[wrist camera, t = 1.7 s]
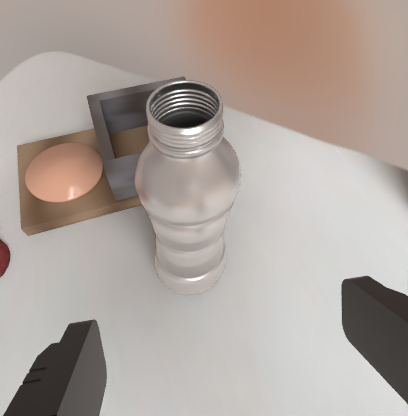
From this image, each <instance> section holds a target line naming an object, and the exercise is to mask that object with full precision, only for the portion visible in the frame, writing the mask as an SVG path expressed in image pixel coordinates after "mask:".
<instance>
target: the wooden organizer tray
mask: <svg viewBox="0 0 408 416" xmlns="http://www.w3.org/2000/svg"><path fill="white" fill-rule="evenodd" d="M180 80H186V79H185V77H180V78H175V79H170V80H165V81H160V82H155V83H150V84H145V85H140V86H135V87H130V88H125V89H120V90H115V91H110V92H104V93H99V94H94V95H89V96H87V99H88V104H89V108H90V112H91V116H92V120H93V125H94V129H91V130H86V131H82V132H77V133H73V134H68V135H64V136H59V137H55V138H50V139H46V140H41V141H37V142H32V143H27V144H23V145H18V146H17V153H18V173H19V193H20V212H21V229H22V230H23V231H24V232H25V233H26V234H27V235H28V236H29V235H33V234H36V233H40V232H44V231H47V230H51V229H55V228H58V227H62V226H65V225H69V224H73V223H76V222H80V221H84V220H87V219H91V218H95V217H98V216H102V215H106V214H109V213H113V212H117V211H120V210H124V209H128V208H131V207H135V206H139V205H142V203H141V201H140V198H139V196H138V193H137V190H136V186H135V173H136V168H137V163H138V160H139V157H140V155H141V153H142V152H143V150H144V149H145V147H146V146H147V144H148V143H149V142H150V140H149V135H148V130H147V128H148V119H147V114H146V103H147V100H148V98H149V96H150V95H151V94H152V92H154V91H155V90H156V89H157V88H159V87H160V86H162V85H165V84H167V83H170V82H174V81H180ZM64 143H80V144H84V145H87V146H89V147H91V148H93V149H94V150H96V151H97V152H98V154H99V155H100V157H101V159H102V163H103V174H102V177H101V179H100V181H99V183H98V184H97V185H96V186H95V188H94V189H93V190H91V191H90V192H89V193H87V194H86V195H84V196H83V197H81V198H78V199H76V200H73V201H70V202H65V203H49V202H45V201H42V200H40V199H38V198H36V197H35V196H34V195H33V194H32V193H31V192H30V191H29V189H28V188H27V186H26V182H25V174H26V170H27V168H28V166H29V164H30V163H31V161H32V160H33V159H34V158H35V157H36V156H37V155H39V154H40V153H41V152H43V151H44V150H46V149H48V148H50V147H53V146H56V145H59V144H64Z"/></svg>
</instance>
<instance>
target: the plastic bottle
mask: <svg viewBox="0 0 408 416" xmlns="http://www.w3.org/2000/svg"><path fill="white" fill-rule="evenodd" d="M146 114H147V119H148V128H147V130H148V135H149V140H150V142H149V143H148V144H147V146H146V147H145V149H144V150H143V152H142V153H141V155H140V157H139V160H138V163H137V168H136V173H135V186H136V190H137V193H138V196H139V198H140V201H141V203H142V205H143V207H144V209H145V211H146V212H147V214H148V216H149V218H150V220H151V222H152V225H153V228H154V231H155V234H156V250H155V268H156V271H157V274H158V276H159V278H160V279H161V280H162V282H163V283H164V284H165V285H166V286H167V287H168V288H169V289H171V290H172V291H174V292H176V293H179V294H183V295H195V294H199V293H202V292H204V291H206V290H208V289H209V288H211V287H212V286H213V285H214V284H215V283H216V282H217V280H218V279H219V277H220V276H221V274H222V273H223V270H224V268H225V264H226V249H225V244H224V232H223V231H224V227H225V223H226V219H227V216H228V214H229V211H230V209H231V207H232V204H233V202H234V200H235V198H236V195H237V193H238V189H239V186H240V181H241V169H240V165H239V161H238V157H237V155H236V152H235V150H234V149H233V147H232V146H231V145H230V143H229V142H228V141H227V140H226V139H225V138H224V137H223V130H224V124H223V119H222V116H223V103H222V99H221V96H220V94H219V93H218V92H217V91H216V90H215V89H214V88H213V87H211V86H209V85H208V84H205V83H202V82H198V81H192V80H180V81H174V82H170V83H167V84H165V85H162V86H160V87H159V88H157V89H156V90H155V91H154V92H152V94H151V95H150V96H149V98H148V100H147V103H146Z"/></svg>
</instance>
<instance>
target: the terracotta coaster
mask: <svg viewBox="0 0 408 416" xmlns="http://www.w3.org/2000/svg"><path fill="white" fill-rule="evenodd" d="M102 174H103V163H102V159H101V157H100V155H99V154H98V152H97V151H96V150H94V149H93V148H91V147H89V146H87V145H84V144H80V143H64V144H59V145H56V146H53V147H50V148H48V149H46V150H44V151H43V152H41V153H40V154H39V155H37V156H36V157H35V158H34V159H33V160H32V161H31V163H30V164H29V166H28V168H27V170H26V174H25V182H26V186H27V188H28V189H29V191H30V192H31V193H32V194H33V195H34V196H35V197H36V198H38V199H40V200H42V201H45V202H49V203H65V202H70V201H73V200H76V199H78V198H81V197H83V196H84V195H86V194H87V193H89V192H90V191H91V190H93V189H94V188H95V186H96V185H97V184H98V183H99V181H100V179H101V177H102Z"/></svg>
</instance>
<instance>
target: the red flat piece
mask: <svg viewBox="0 0 408 416" xmlns="http://www.w3.org/2000/svg"><path fill="white" fill-rule="evenodd" d="M9 262H10V251H9V249H8V247H7V245H6V244H4V243H3V242H2V241H1V240H0V277H1V276H2V275H3V274H4V272H5V271H6V269H7V268H8V265H9Z"/></svg>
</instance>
